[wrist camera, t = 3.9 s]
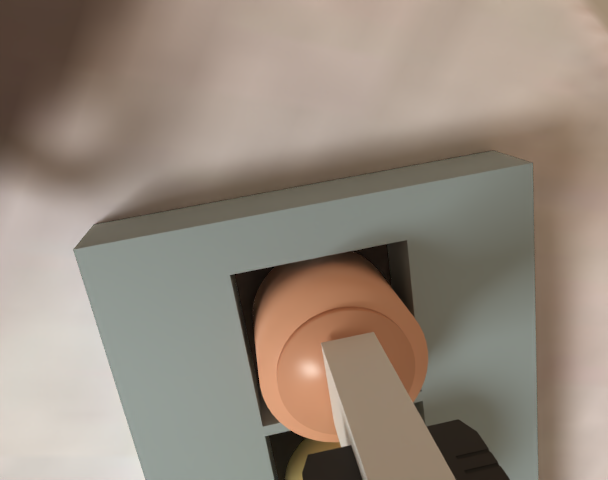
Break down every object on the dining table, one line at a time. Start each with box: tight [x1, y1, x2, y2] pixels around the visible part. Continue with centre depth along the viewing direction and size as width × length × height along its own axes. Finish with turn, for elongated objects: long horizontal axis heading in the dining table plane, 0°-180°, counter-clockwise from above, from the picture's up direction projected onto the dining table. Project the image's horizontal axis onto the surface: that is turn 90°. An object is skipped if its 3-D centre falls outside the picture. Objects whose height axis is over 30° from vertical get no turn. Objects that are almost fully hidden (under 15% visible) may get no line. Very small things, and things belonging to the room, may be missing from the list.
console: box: [73, 151, 538, 480], centre depth 21 cm, size 14×21×3 cm, turn 9°
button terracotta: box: [252, 251, 428, 442], centre depth 17 cm, size 5×5×4 cm
